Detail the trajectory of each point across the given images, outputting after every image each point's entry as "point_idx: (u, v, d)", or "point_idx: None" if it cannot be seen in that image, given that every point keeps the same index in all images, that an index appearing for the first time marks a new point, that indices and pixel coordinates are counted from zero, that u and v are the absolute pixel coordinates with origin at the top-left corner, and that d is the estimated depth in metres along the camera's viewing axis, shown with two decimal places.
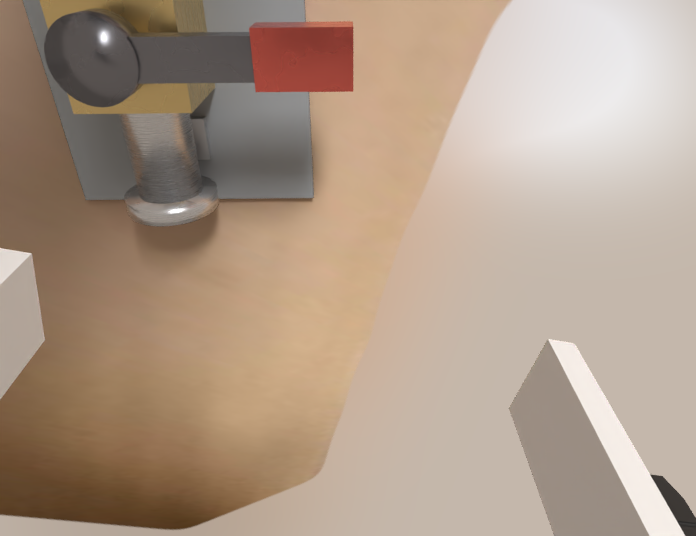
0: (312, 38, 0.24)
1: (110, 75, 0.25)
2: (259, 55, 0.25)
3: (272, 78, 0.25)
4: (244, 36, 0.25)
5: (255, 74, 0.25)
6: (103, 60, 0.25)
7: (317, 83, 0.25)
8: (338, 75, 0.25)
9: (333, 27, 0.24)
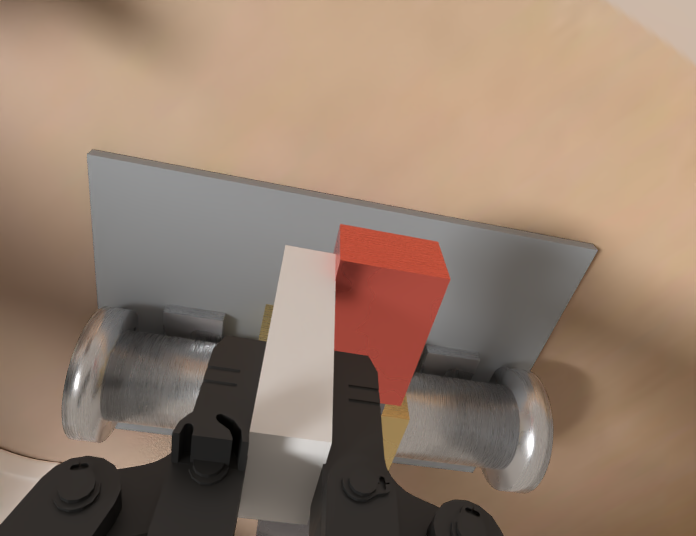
0: (343, 321, 0.14)
1: None
2: None
3: (387, 383, 0.15)
4: None
5: None
6: None
7: (416, 328, 0.14)
8: (414, 296, 0.14)
9: None
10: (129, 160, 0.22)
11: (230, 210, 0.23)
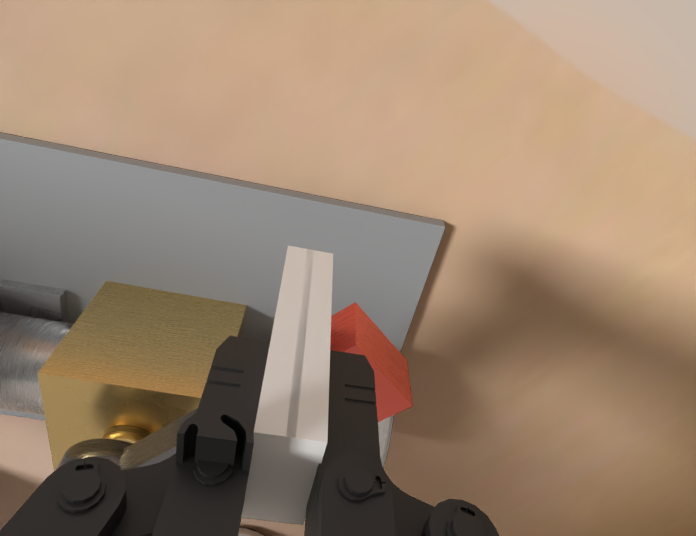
0: None
1: None
2: None
3: None
4: None
5: None
6: None
7: None
8: (378, 401, 0.15)
9: None
10: None
11: (47, 178, 0.22)
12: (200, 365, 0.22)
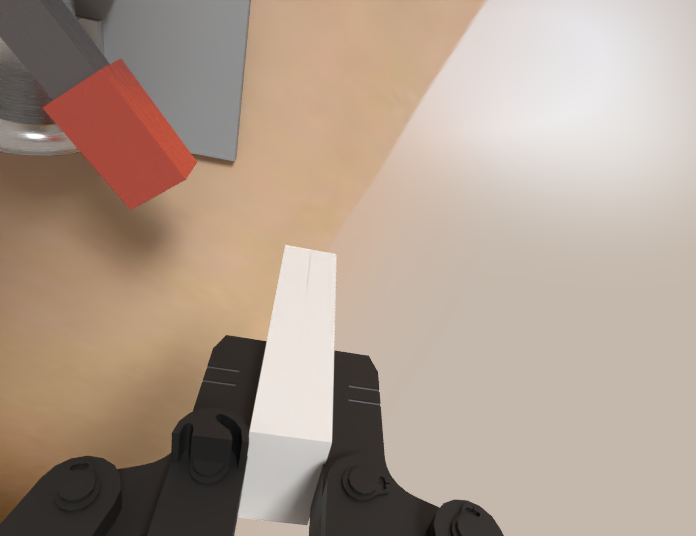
0: (144, 145, 0.20)
1: None
2: (83, 94, 0.19)
3: (72, 120, 0.20)
4: (89, 65, 0.19)
5: (60, 98, 0.19)
6: None
7: (108, 171, 0.21)
8: (132, 188, 0.21)
9: (171, 160, 0.21)
10: None
11: None
12: None
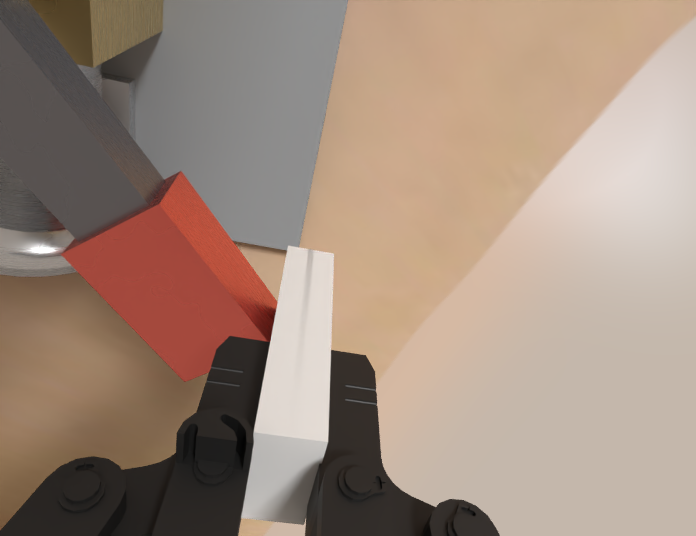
0: (216, 304, 0.13)
1: None
2: (127, 238, 0.12)
3: (107, 271, 0.13)
4: (140, 194, 0.12)
5: (90, 243, 0.12)
6: None
7: (156, 336, 0.14)
8: (191, 356, 0.14)
9: (253, 322, 0.14)
10: None
11: None
12: (116, 12, 0.14)
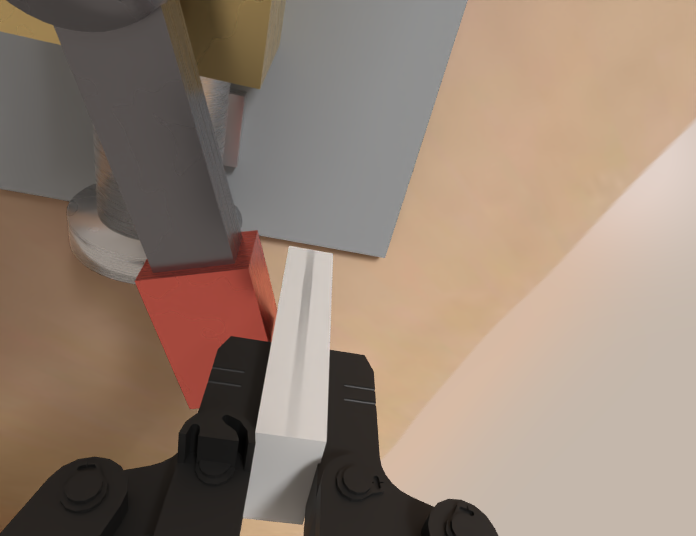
0: None
1: None
2: (204, 286, 0.13)
3: (170, 306, 0.14)
4: (231, 253, 0.13)
5: (168, 280, 0.13)
6: None
7: (185, 366, 0.15)
8: None
9: None
10: None
11: None
12: (272, 33, 0.15)
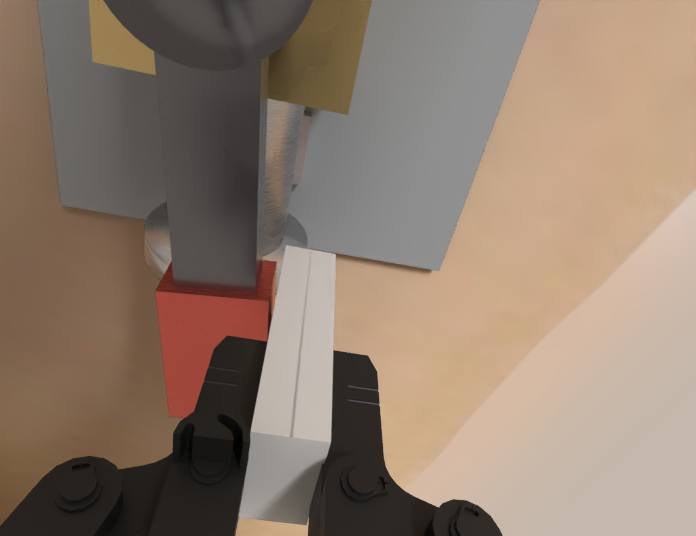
0: None
1: None
2: (222, 308, 0.14)
3: (182, 320, 0.14)
4: (254, 283, 0.14)
5: (188, 296, 0.13)
6: None
7: (178, 377, 0.15)
8: (193, 403, 0.16)
9: None
10: None
11: None
12: None
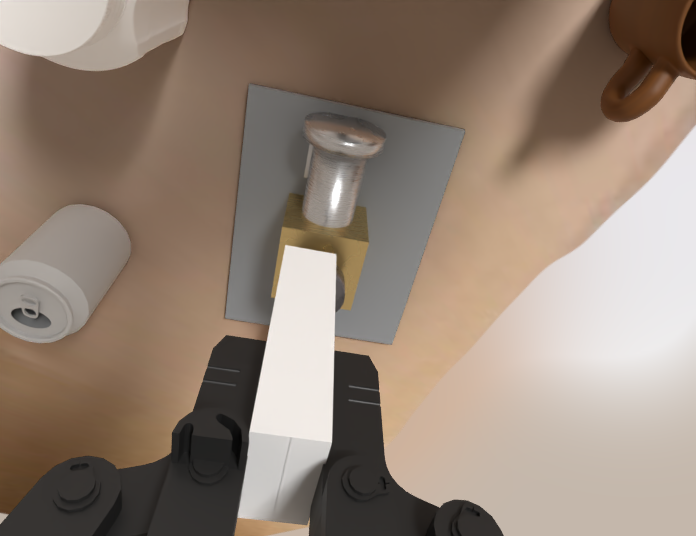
0: None
1: None
2: None
3: None
4: None
5: None
6: None
7: None
8: None
9: None
10: (458, 149, 0.43)
11: (426, 195, 0.45)
12: None
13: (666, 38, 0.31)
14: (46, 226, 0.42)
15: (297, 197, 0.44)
